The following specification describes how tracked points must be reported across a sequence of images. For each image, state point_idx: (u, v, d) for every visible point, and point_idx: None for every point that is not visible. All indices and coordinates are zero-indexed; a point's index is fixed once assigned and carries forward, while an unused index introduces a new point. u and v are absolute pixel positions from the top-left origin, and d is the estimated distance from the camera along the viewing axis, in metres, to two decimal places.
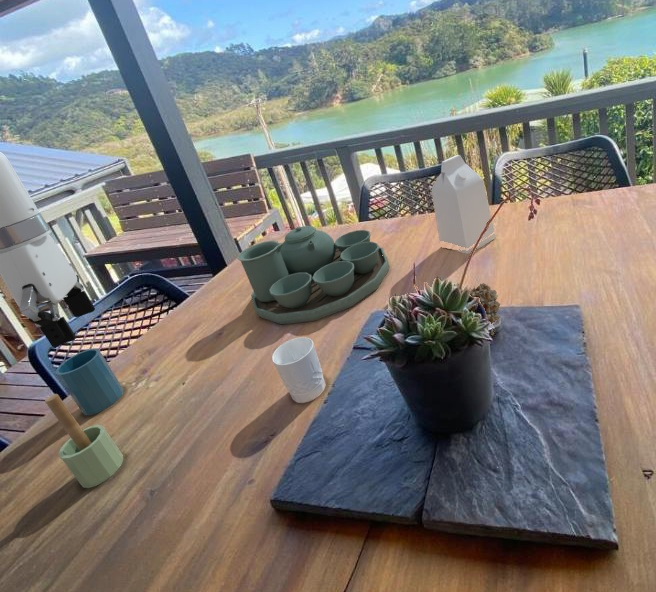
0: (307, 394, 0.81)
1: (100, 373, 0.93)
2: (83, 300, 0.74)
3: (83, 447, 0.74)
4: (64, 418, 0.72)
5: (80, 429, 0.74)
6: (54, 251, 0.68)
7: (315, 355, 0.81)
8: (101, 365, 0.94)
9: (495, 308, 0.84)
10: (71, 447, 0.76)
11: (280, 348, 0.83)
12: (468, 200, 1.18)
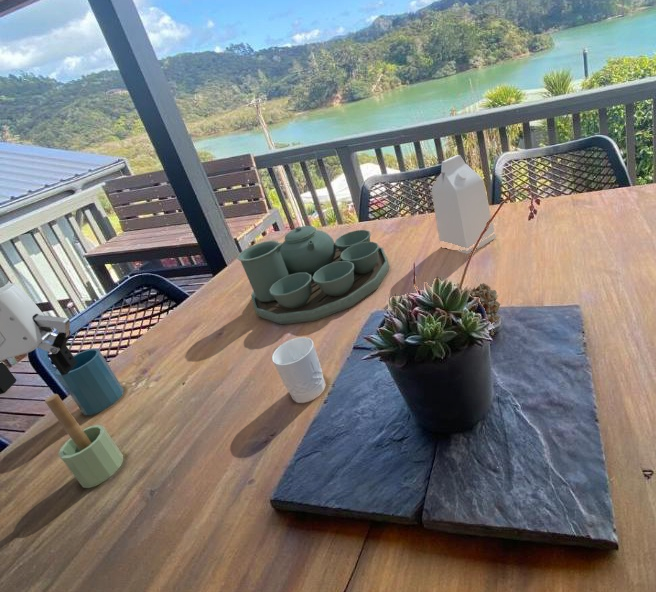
0: (307, 394, 0.81)
1: (100, 373, 0.93)
2: (6, 370, 0.69)
3: (83, 447, 0.74)
4: (64, 418, 0.72)
5: (80, 429, 0.74)
6: None
7: (315, 355, 0.81)
8: (101, 365, 0.94)
9: (495, 308, 0.84)
10: (71, 447, 0.76)
11: (280, 348, 0.83)
12: (468, 200, 1.18)
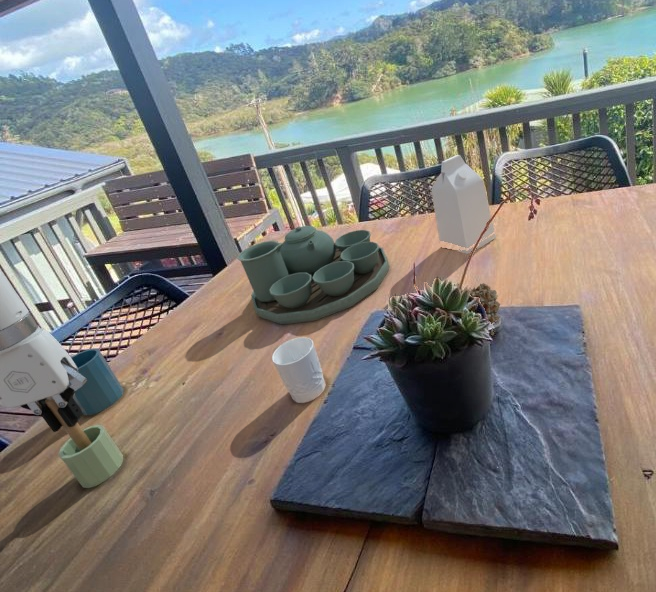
0: (307, 394, 0.81)
1: (100, 373, 0.93)
2: None
3: (83, 447, 0.74)
4: None
5: (80, 429, 0.74)
6: None
7: (315, 355, 0.81)
8: (101, 365, 0.94)
9: (495, 308, 0.84)
10: (71, 447, 0.76)
11: (280, 348, 0.83)
12: (468, 200, 1.18)
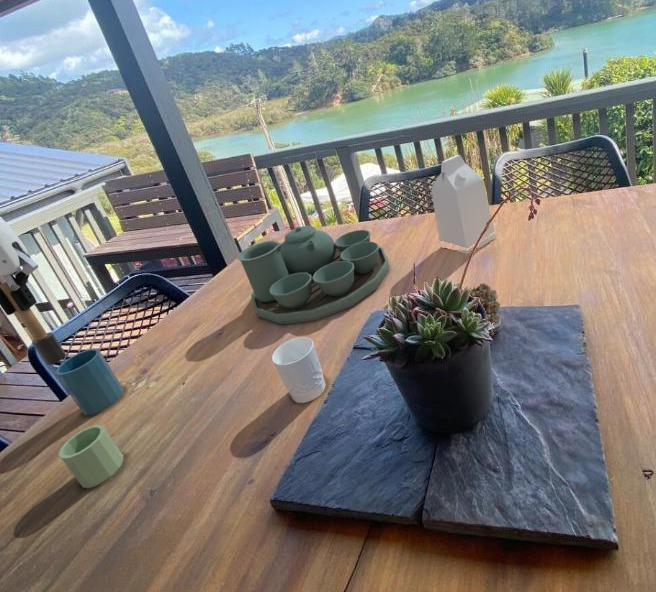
0: (307, 394, 0.81)
1: (100, 373, 0.93)
2: None
3: (36, 333, 0.79)
4: None
5: (34, 316, 0.78)
6: None
7: (315, 355, 0.81)
8: (101, 365, 0.94)
9: (495, 308, 0.84)
10: (71, 447, 0.76)
11: (280, 348, 0.83)
12: (468, 200, 1.18)
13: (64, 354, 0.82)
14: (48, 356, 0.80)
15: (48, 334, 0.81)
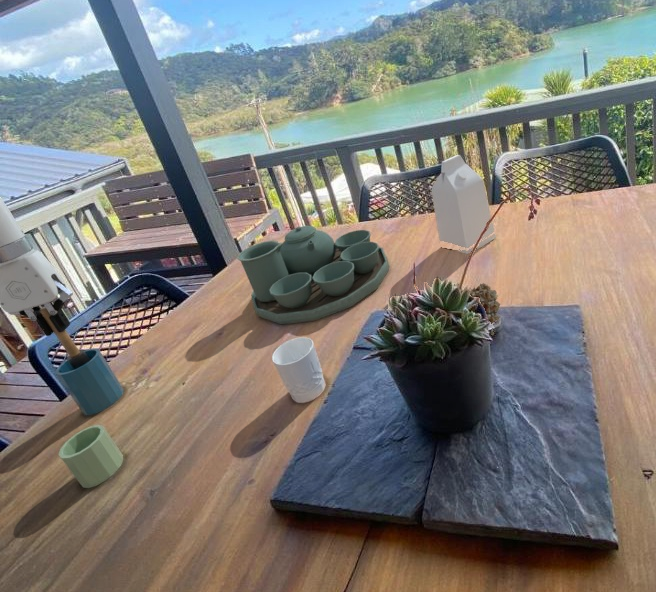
0: (307, 394, 0.81)
1: (100, 373, 0.93)
2: None
3: (71, 351, 0.91)
4: None
5: (68, 336, 0.91)
6: None
7: (315, 355, 0.81)
8: (101, 365, 0.94)
9: (495, 308, 0.84)
10: (71, 447, 0.76)
11: (280, 348, 0.83)
12: (468, 200, 1.18)
13: None
14: None
15: (80, 351, 0.93)
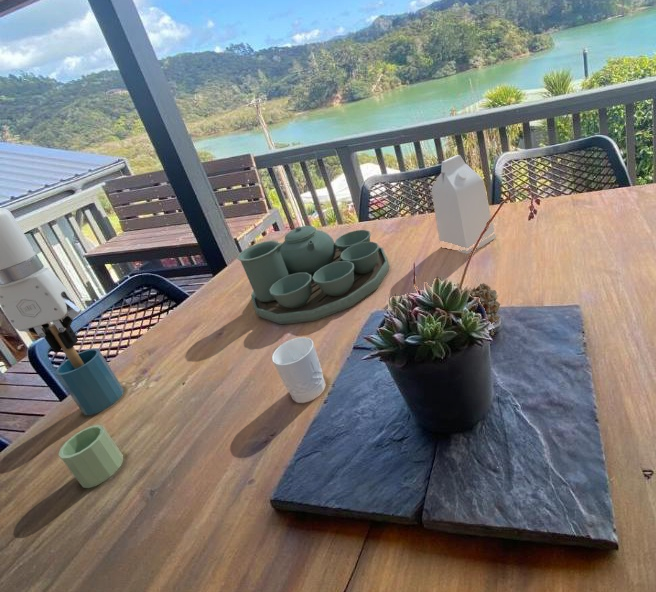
0: (307, 394, 0.81)
1: (100, 373, 0.93)
2: None
3: (78, 367, 0.92)
4: None
5: (76, 353, 0.92)
6: None
7: (315, 355, 0.81)
8: (101, 365, 0.94)
9: (495, 308, 0.84)
10: (71, 447, 0.76)
11: (280, 348, 0.83)
12: (468, 200, 1.18)
13: None
14: None
15: None
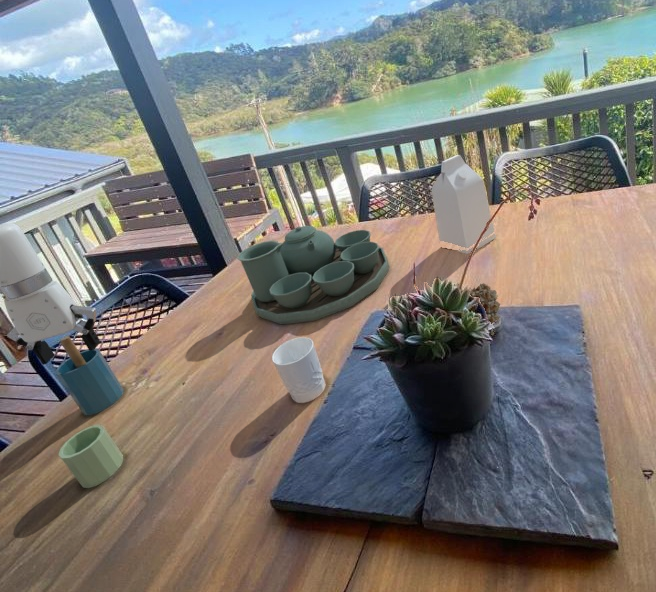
0: (307, 394, 0.81)
1: (100, 373, 0.93)
2: (47, 347, 0.92)
3: None
4: (74, 355, 0.92)
5: None
6: None
7: (315, 355, 0.81)
8: (101, 365, 0.94)
9: (495, 308, 0.84)
10: (71, 447, 0.76)
11: (280, 348, 0.83)
12: (468, 200, 1.18)
13: None
14: None
15: None
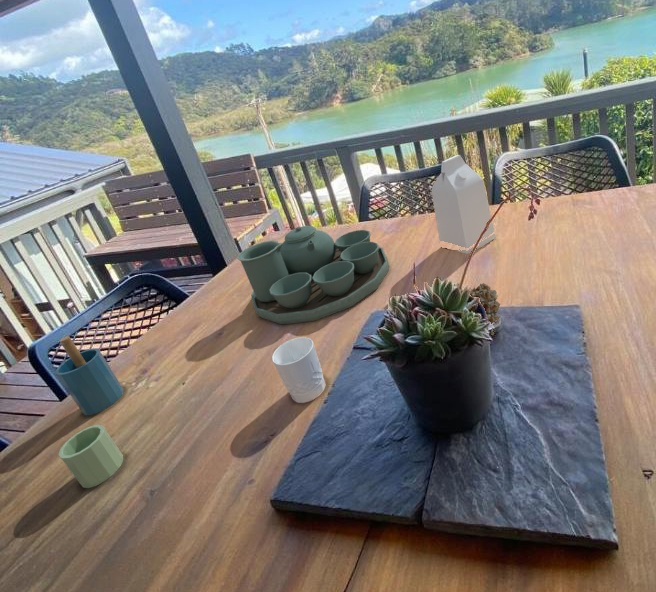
0: (307, 394, 0.81)
1: (100, 373, 0.93)
2: None
3: None
4: (74, 355, 0.92)
5: None
6: None
7: (315, 355, 0.81)
8: (101, 365, 0.94)
9: (495, 308, 0.84)
10: (71, 447, 0.76)
11: (280, 348, 0.83)
12: (468, 200, 1.18)
13: None
14: None
15: None
